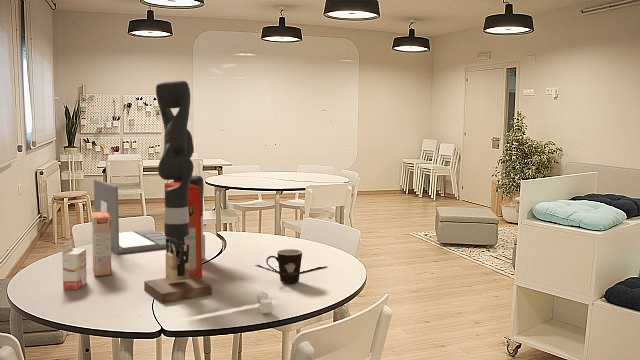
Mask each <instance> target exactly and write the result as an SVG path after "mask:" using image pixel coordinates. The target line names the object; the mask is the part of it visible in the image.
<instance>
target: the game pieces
mask: <svg viewBox="0 0 640 360" xmlns="http://www.w3.org/2000/svg"><path fill="white" fill-rule="evenodd" d="M268 295H269V294H268V292H265V291H260V292H257V293H256V299H257V301H259V302H258V304H259V306H258V307H259V311H260V313H261V314H264V313H265V314H266V313H267V314H268V313H273V312H272V311H273V310H272V307H273V306H272V305H273V302H272V299H271V298H268Z"/></svg>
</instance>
